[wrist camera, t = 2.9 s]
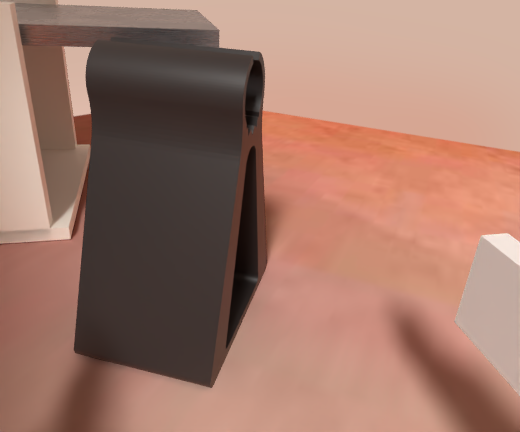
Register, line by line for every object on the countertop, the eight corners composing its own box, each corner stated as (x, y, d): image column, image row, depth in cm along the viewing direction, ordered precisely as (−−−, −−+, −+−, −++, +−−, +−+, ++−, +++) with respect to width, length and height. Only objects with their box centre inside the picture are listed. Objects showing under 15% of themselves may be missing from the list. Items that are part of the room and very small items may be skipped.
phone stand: (167, 247, 27) (157, 26, 21) (267, 267, 26) (284, 38, 20) (74, 356, 19) (20, 55, 14) (209, 392, 18) (212, 78, 13)
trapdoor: (-237, 74, 22) (-280, -24, 20) (-123, 38, 31) (-145, -30, 29) (218, 77, 26) (219, -1, 24) (197, 45, 36) (196, -13, 34)
